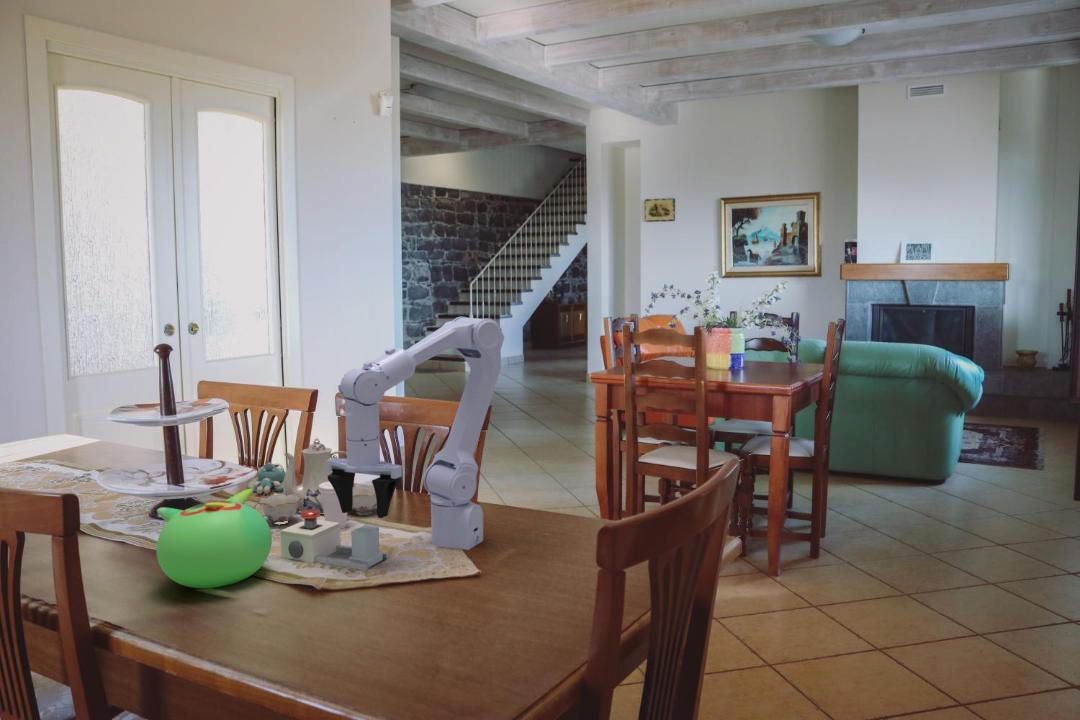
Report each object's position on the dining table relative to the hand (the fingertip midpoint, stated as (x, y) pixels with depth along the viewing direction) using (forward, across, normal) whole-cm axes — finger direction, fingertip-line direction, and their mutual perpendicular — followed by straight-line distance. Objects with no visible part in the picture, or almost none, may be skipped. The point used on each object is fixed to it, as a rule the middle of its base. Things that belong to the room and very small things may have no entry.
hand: (364, 514), depth 148 cm
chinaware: (+10, -29, +24) cm, 39 cm away
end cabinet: (+10, -12, 0) cm, 15 cm away
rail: (+10, -3, 0) cm, 10 cm away
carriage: (+9, 0, 0) cm, 9 cm away
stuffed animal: (+10, -53, +35) cm, 64 cm away
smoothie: (+10, -18, +15) cm, 25 cm away
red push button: (+6, -12, 0) cm, 13 cm away
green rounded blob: (+10, -19, -16) cm, 27 cm away
